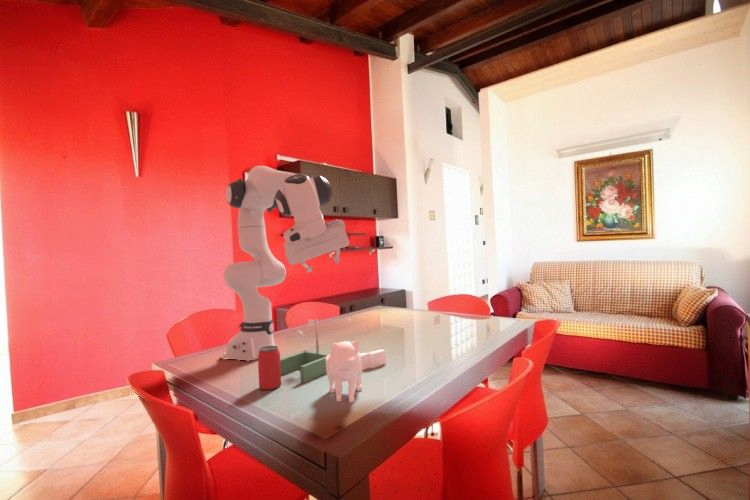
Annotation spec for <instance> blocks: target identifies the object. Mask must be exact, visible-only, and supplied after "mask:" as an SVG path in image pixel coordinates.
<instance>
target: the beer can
mask: <svg viewBox="0 0 750 500" xmlns="http://www.w3.org/2000/svg"><path fill="white" fill-rule="evenodd" d="M259 350H260V351H259V354H258V359H257V366H258V369H257V370H258V387H259V389H260V390H263V391H271V390H275V389H278V388H279V387H281V385H282V375H281V368H280V359H281V353H280V350H279V347H278V346H277V345H275V346H266V347H262V348H260V349H259Z"/></svg>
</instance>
